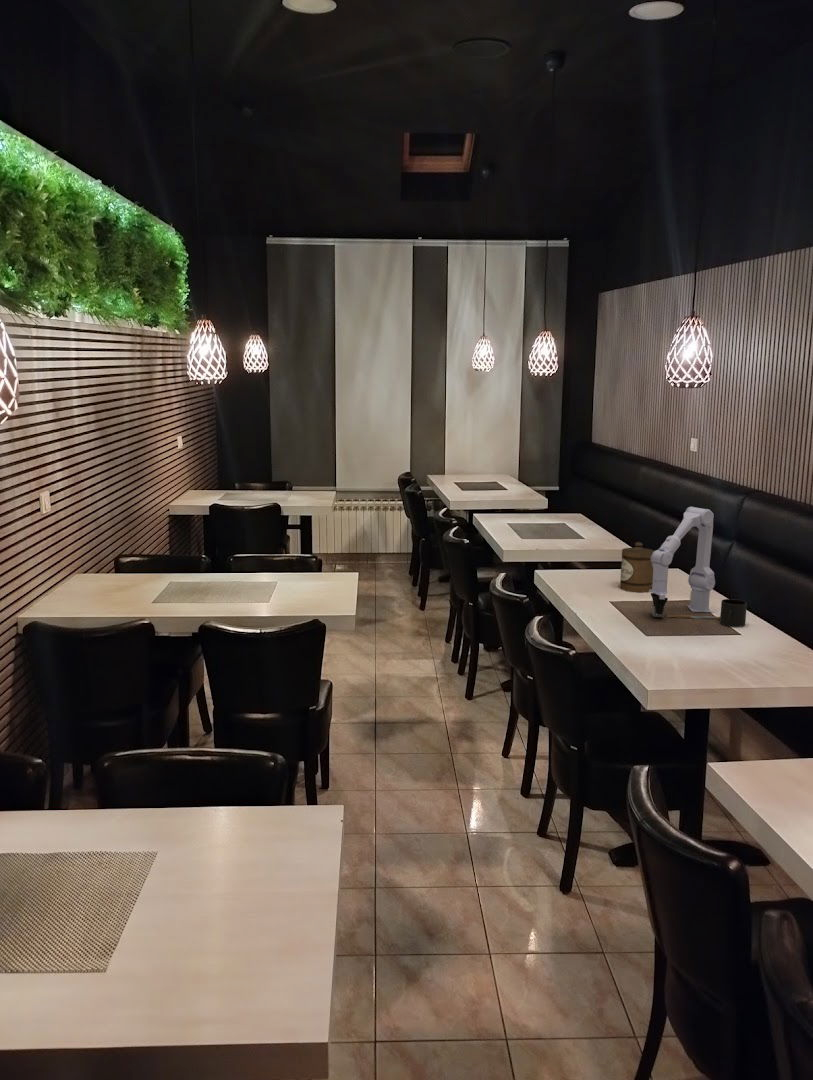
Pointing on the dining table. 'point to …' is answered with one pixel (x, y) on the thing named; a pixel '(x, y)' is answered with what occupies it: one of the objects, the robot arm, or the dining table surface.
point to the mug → (733, 612)
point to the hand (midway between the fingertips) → (658, 612)
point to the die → (655, 612)
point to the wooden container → (636, 569)
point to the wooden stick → (694, 617)
